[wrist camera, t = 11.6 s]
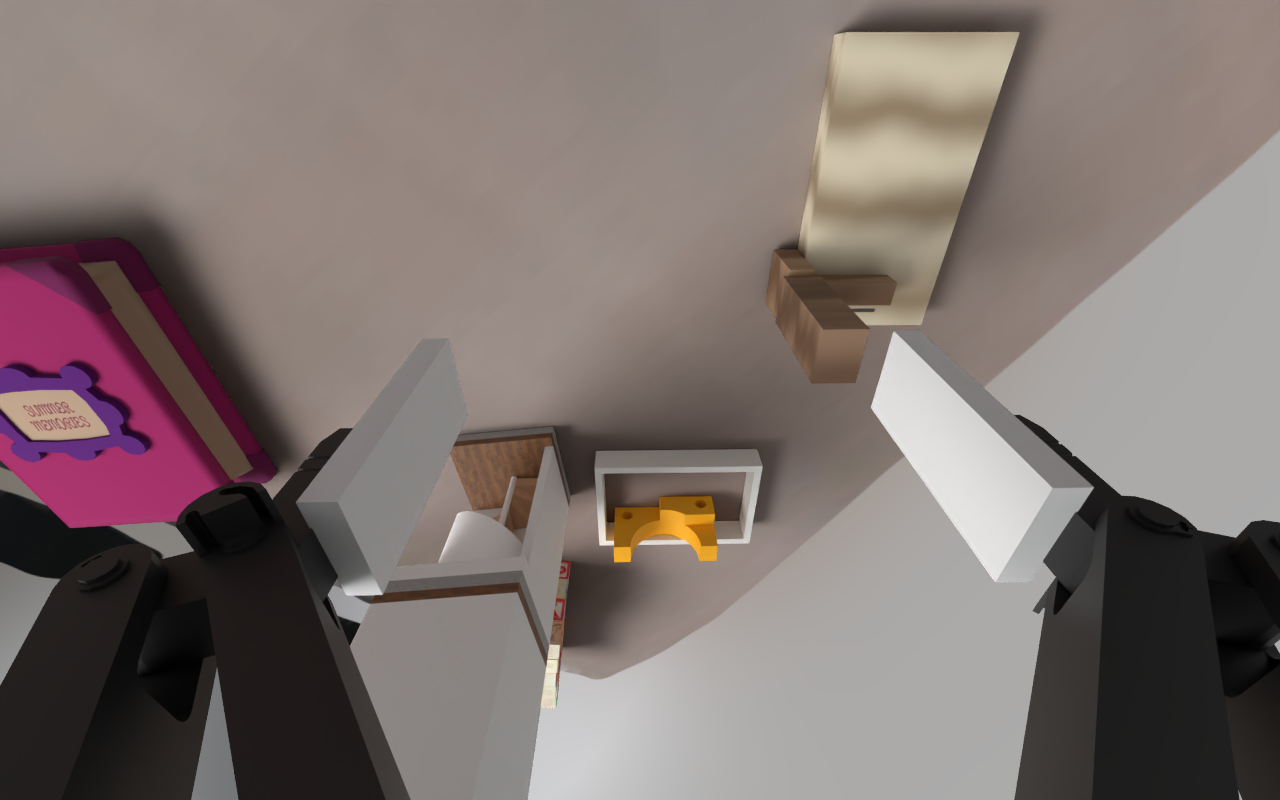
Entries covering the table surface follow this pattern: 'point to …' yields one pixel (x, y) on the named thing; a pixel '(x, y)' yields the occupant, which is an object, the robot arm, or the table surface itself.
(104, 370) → the book
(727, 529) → the clamp rest frame
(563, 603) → the stack of blocks
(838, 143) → the pine board
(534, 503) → the white column with cutout
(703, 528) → the pipe clamp
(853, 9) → the table surface
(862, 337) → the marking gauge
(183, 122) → the table surface
